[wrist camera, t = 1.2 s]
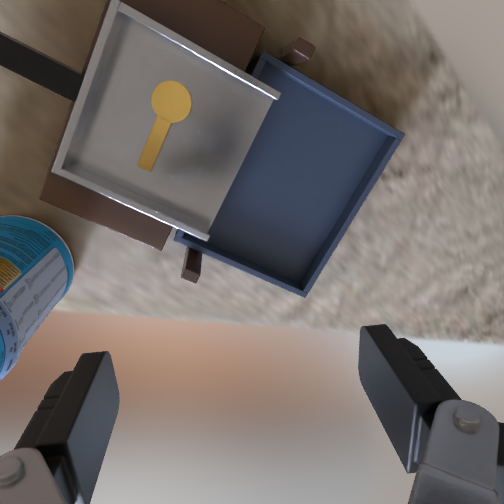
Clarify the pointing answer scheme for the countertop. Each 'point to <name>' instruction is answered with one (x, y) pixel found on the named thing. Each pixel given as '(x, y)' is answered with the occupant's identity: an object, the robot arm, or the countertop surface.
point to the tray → (297, 181)
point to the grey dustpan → (150, 118)
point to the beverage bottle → (28, 281)
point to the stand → (211, 39)
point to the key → (164, 118)
